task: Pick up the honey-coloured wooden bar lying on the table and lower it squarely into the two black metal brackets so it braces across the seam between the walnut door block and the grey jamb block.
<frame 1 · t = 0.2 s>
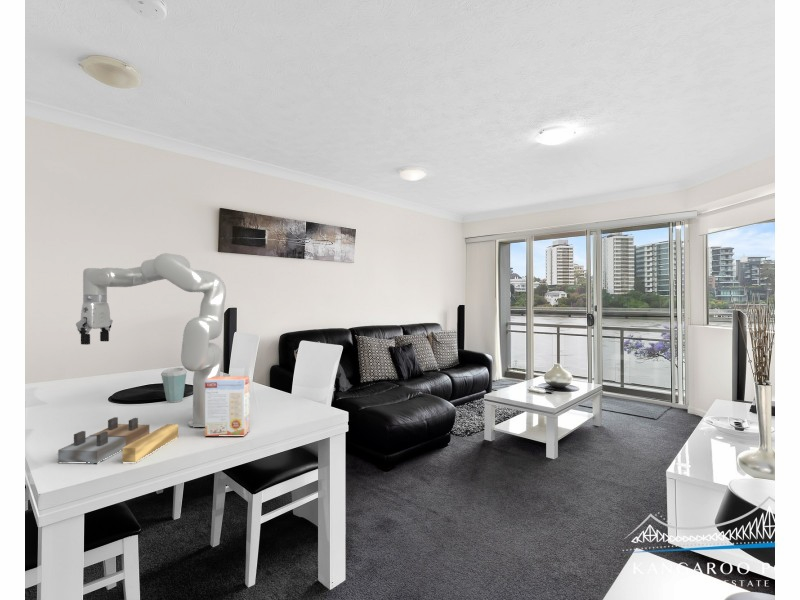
hand: (95, 342, 160), 31 cm above the table, tool pointing down, fingers open, 9 cm apart
cracker box: (227, 435, 147), on the table
disposable coffee cup: (174, 401, 190), on the table
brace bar: (152, 450, 133), on the table
door and jamb: (107, 448, 133), on the table
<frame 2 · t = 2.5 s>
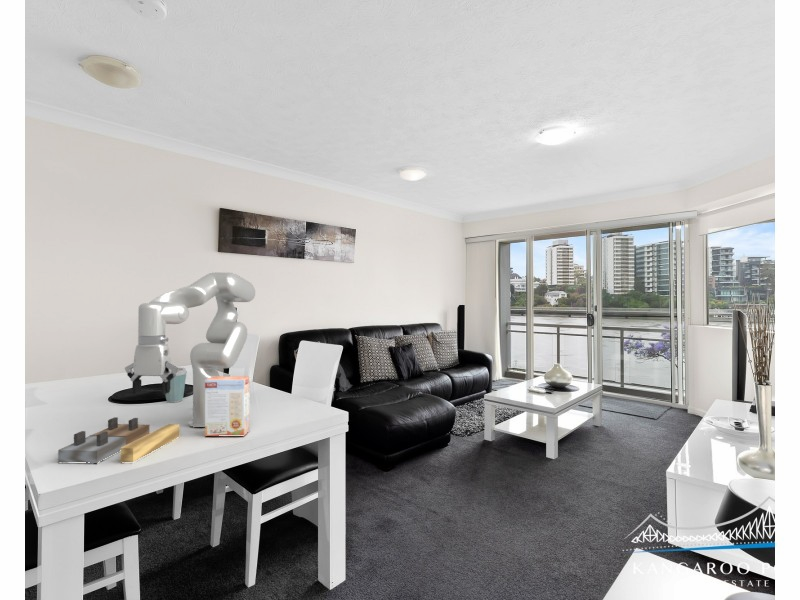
hand: (151, 392, 132), 19 cm above the table, tool pointing down, fingers open, 9 cm apart
nothing on the table moved.
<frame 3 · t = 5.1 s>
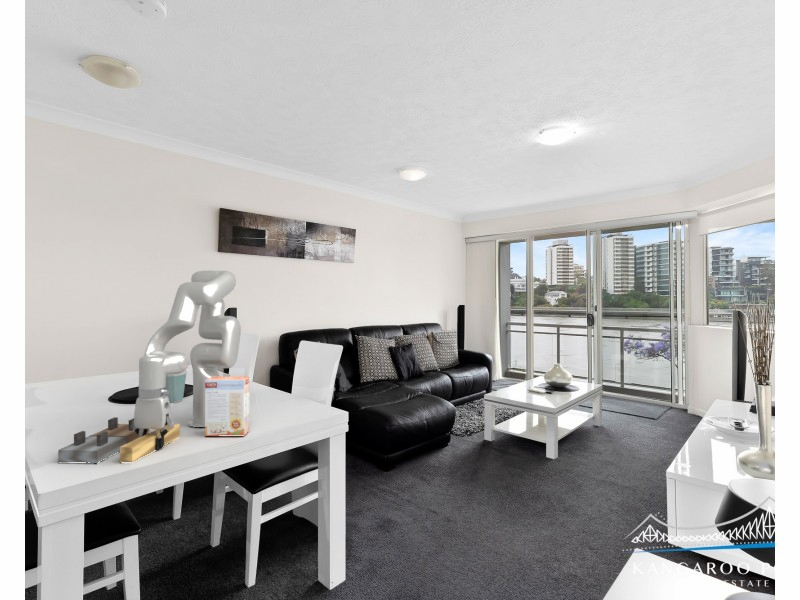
hand: (152, 448, 132), 0 cm above the table, tool pointing down, fingers closed on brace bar, 4 cm apart
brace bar: (152, 449, 132), on the table, touching gripper
everything else where it was.
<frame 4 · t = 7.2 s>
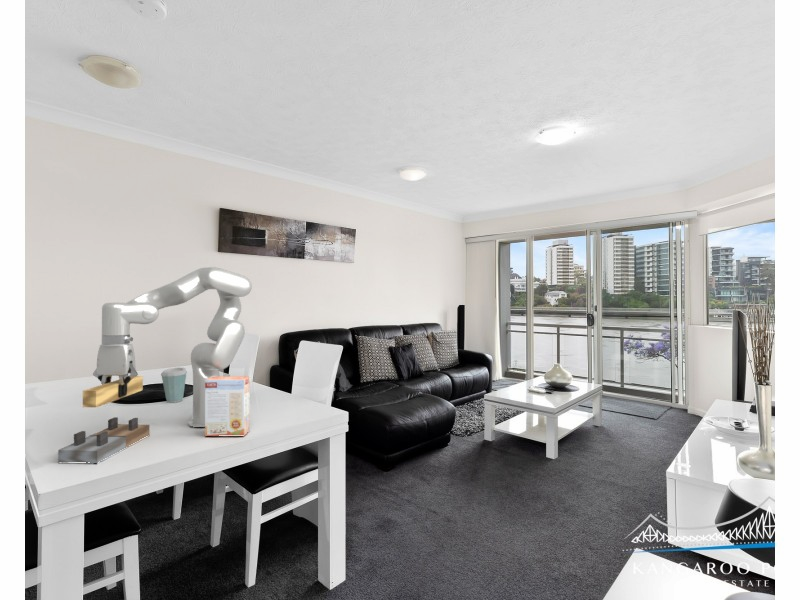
hand: (115, 395, 132), 18 cm above the table, tool pointing down, fingers closed on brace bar, 4 cm apart
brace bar: (115, 398, 132), point 17 cm above the table, touching gripper
everything else where it was.
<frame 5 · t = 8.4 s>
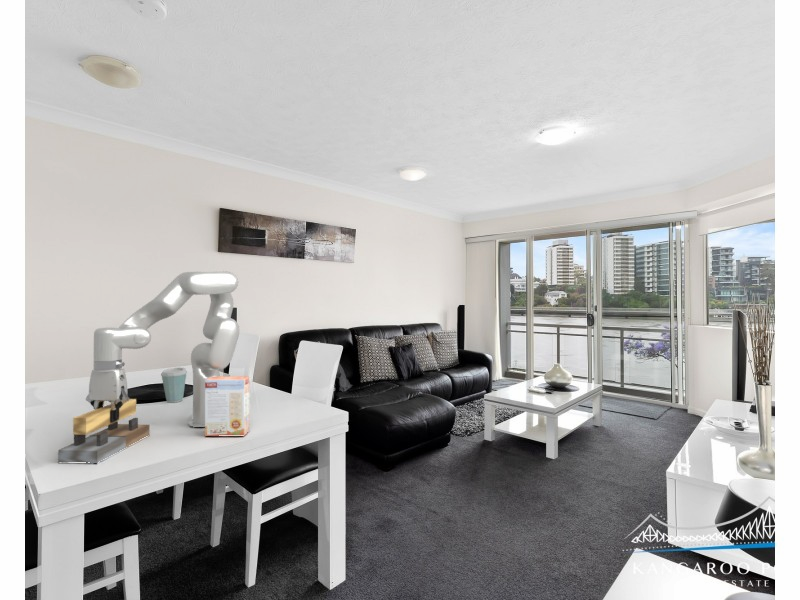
hand: (107, 420, 133), 9 cm above the table, tool pointing down, fingers closed on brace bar, 4 cm apart
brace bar: (107, 422, 133), point 8 cm above the table, touching gripper
everything else where it was.
when the fingers open (6 cm above the table, at t = 9.5 s): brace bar stays where it is, resting on door and jamb.
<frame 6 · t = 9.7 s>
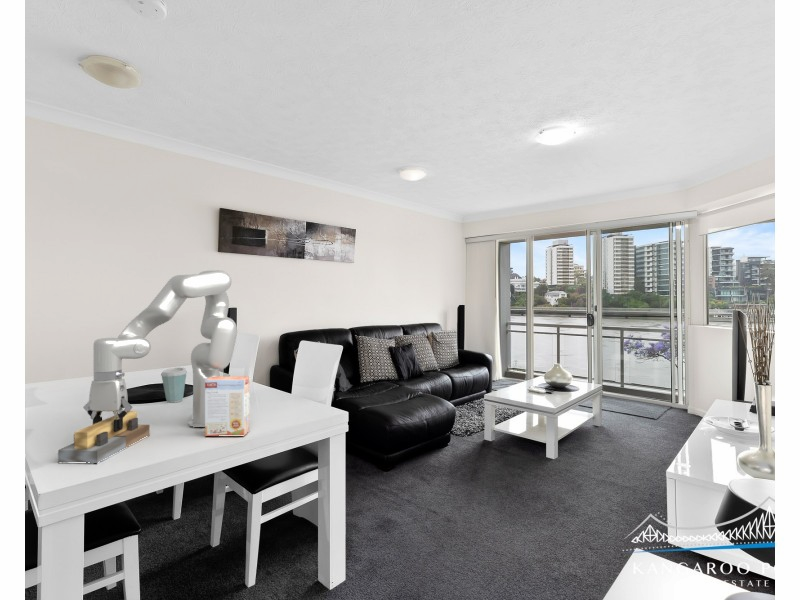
hand: (107, 429, 133), 6 cm above the table, tool pointing down, fingers open, 6 cm apart
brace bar: (108, 435, 133), point 4 cm above the table, touching door and jamb
everything else where it was.
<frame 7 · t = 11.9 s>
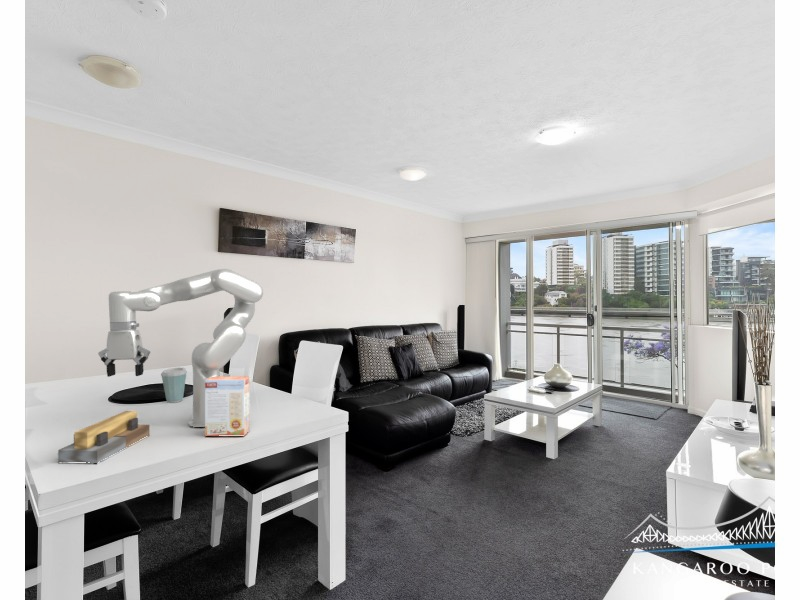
hand: (125, 375, 141), 22 cm above the table, tool pointing down, fingers open, 9 cm apart
nothing on the table moved.
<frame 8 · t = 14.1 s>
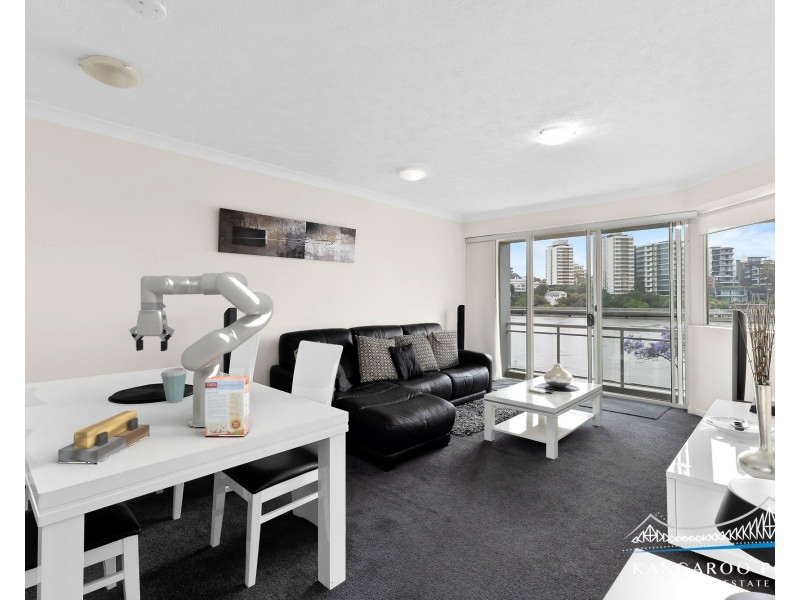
hand: (151, 350, 160), 28 cm above the table, tool pointing down, fingers open, 9 cm apart
nothing on the table moved.
at the end: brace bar 0.1 cm off-centre on the door and jamb, point 4.1 cm above the door and jamb's base; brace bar tilted 0°; the gripper is holding nothing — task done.
